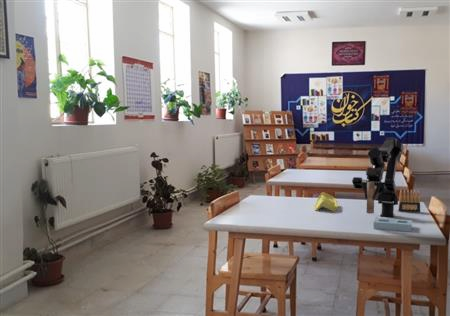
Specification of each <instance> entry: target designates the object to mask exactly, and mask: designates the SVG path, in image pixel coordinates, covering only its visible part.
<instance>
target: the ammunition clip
mask: <svg viewBox="0 0 450 316" xmlns="http://www.w3.org/2000/svg"><path fill="white" fill-rule="evenodd" d="M398 198H399V199H398V210H397V211H398V212H399V213H421V193H420V189H418V190H416V189H414V191H413V189H410V190H409V189H407V191H406V189H404V188H403V190H402V188H400V191H399V197H398Z"/></svg>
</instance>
